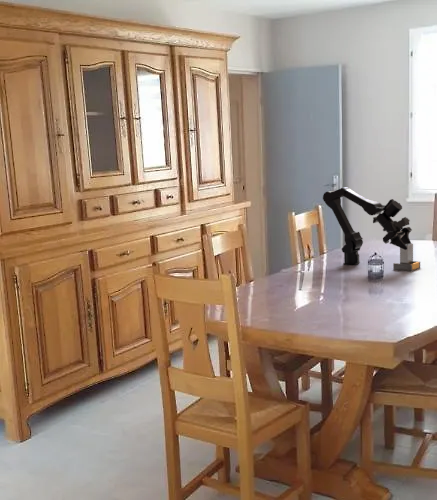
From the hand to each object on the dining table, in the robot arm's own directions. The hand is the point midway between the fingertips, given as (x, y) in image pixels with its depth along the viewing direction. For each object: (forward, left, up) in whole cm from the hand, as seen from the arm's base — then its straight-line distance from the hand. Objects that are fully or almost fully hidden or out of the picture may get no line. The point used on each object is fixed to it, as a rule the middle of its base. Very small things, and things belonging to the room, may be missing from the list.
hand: (409, 248), depth 305 cm
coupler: (-1, 0, -10) cm, 10 cm away
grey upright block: (-1, 0, -8) cm, 8 cm away
